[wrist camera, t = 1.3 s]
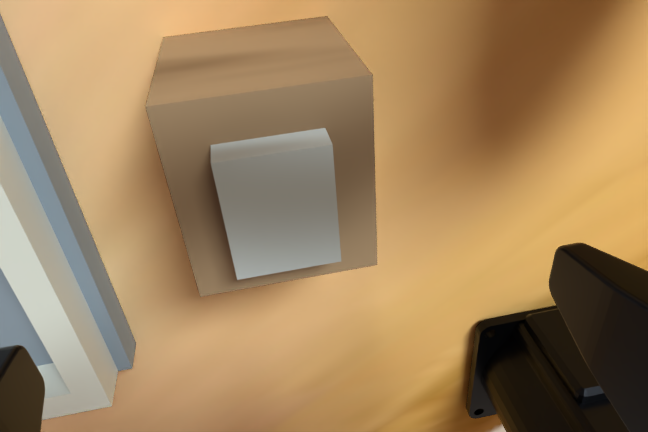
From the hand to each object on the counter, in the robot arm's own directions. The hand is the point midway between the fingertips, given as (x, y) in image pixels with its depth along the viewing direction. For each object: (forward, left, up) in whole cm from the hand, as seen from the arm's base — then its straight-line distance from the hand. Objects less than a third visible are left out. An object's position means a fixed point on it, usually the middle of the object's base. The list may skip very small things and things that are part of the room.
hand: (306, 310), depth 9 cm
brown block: (0, 0, -9) cm, 9 cm away
